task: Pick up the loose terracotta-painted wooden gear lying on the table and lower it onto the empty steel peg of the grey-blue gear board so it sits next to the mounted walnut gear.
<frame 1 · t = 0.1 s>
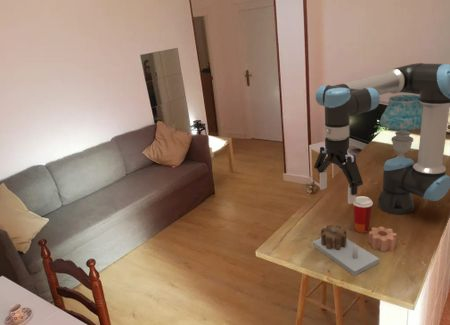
hand: (336, 195, 119), 28 cm above the table, fingers open, 13 cm apart
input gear: (381, 244, 135), on the table
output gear: (333, 242, 136), resting on gear board
gear board: (344, 253, 132), on the table
table lamp: (400, 167, 197), on the table
paper cup: (361, 229, 146), on the table
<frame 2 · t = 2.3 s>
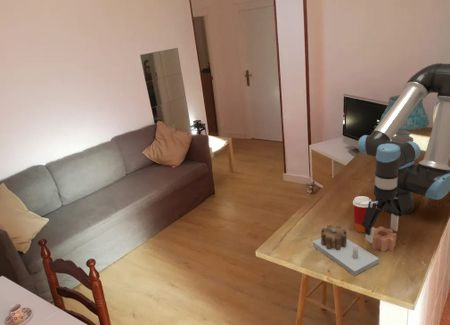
hand: (381, 235, 133), 4 cm above the table, fingers open, 13 cm apart
nothing on the table moved.
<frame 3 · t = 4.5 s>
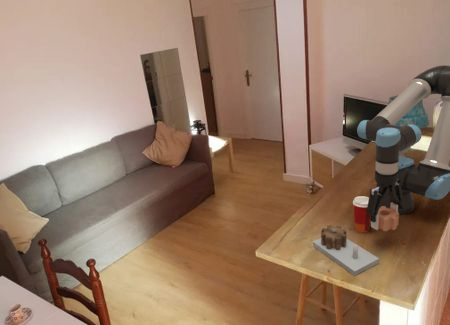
hand: (384, 223, 132), 9 cm above the table, fingers closed on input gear, 10 cm apart
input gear: (384, 223, 132), point 9 cm above the table, touching gripper
everything else where it was.
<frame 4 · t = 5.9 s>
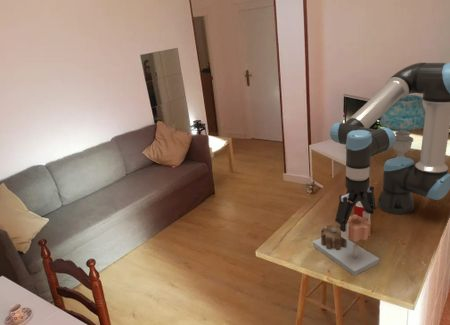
hand: (355, 233, 123), 13 cm above the table, fingers closed on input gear, 10 cm apart
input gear: (355, 233, 123), point 12 cm above the table, touching gripper
everything else where it was.
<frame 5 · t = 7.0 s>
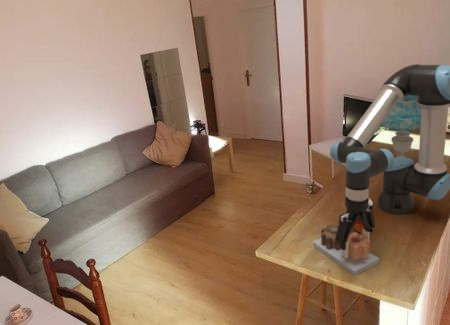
hand: (355, 250, 126), 5 cm above the table, fingers closed on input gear, 10 cm apart
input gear: (355, 251, 126), point 5 cm above the table, touching gripper
everything else where it was.
when the fingers open (3 cm above the table, at t = 7.9 s): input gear stays where it is, resting on gear board.
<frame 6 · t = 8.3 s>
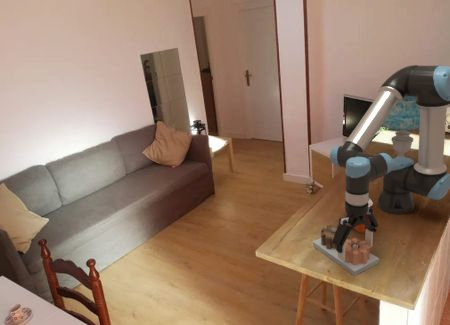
hand: (355, 252, 126), 4 cm above the table, fingers open, 13 cm apart
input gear: (355, 256, 127), point 2 cm above the table, touching gear board
everything else where it was.
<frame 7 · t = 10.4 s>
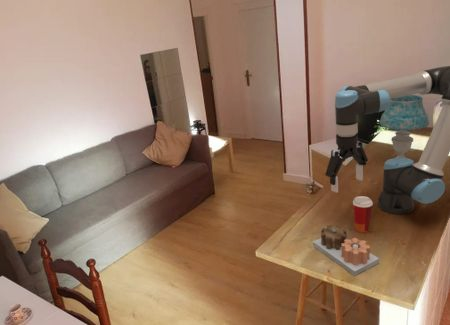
hand: (347, 185, 133), 24 cm above the table, fingers open, 13 cm apart
nothing on the table moved.
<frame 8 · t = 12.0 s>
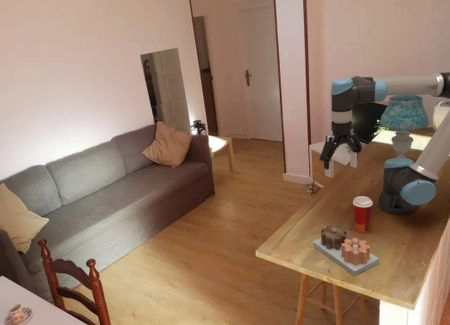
hand: (341, 171, 139), 27 cm above the table, fingers open, 13 cm apart
nothing on the table moved.
at the end: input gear 0.0 cm from the target spot on the gear board, point 2.0 cm above the gear board's base; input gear tilted 0°; the gripper is holding nothing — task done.
